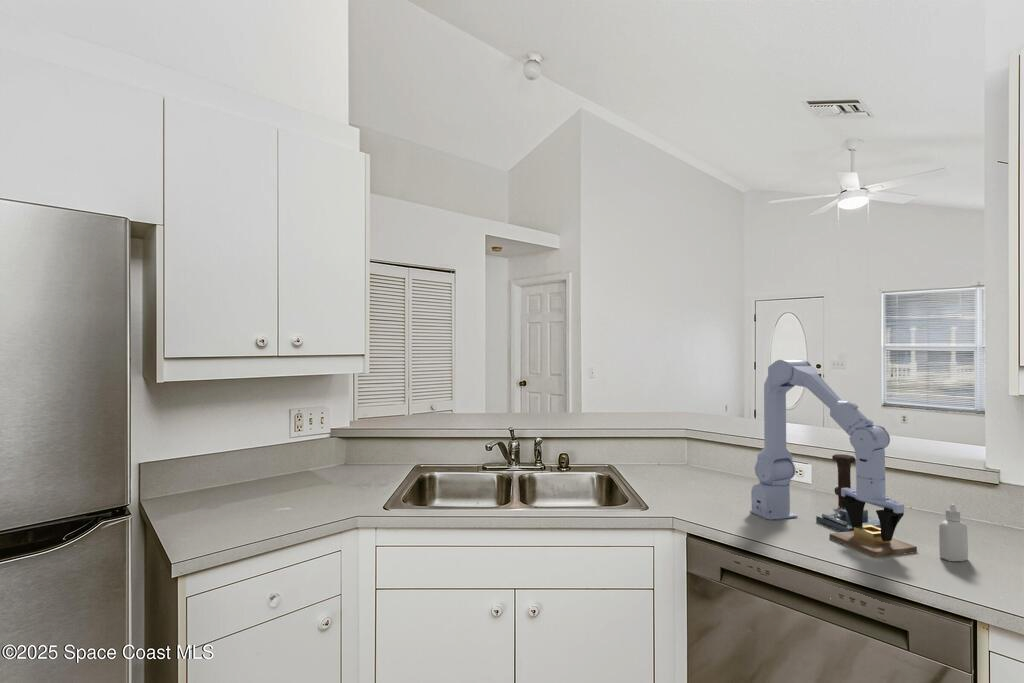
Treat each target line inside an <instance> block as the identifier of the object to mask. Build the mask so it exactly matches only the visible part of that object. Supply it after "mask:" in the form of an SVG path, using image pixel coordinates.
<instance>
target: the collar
mask: <svg viewBox="0 0 1024 683" xmlns="http://www.w3.org/2000/svg"><path fill="white" fill-rule="evenodd" d="M854 537H855V538H857V539H860V540H862V541H865V542H867V543H870V544H872V545H876V544H884V543H890V541H882V538H881V528H878V527H875V526H872V525H865V526H857V527H854Z"/></svg>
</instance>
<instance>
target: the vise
mask: <svg viewBox="0 0 1024 683" xmlns="http://www.w3.org/2000/svg"><path fill="white" fill-rule="evenodd" d="M815 519H816V520H815V521H816V523H819V524H822V525H824V526H827V527H829V528H831V527H832V528H831V529H834V528H835V529H834V530H836V531H839V530H840V531H839V532H848V531H854V530H853V528H852V525H851V522H850V519H849V516H848V513H847V511H846V509H845V508H844V509H839V513H832V514H826V513H822V514H821V515H816V517H815ZM865 525H872V526H875V527H878V528H881V527H880V521H879V518H878V517H875V516H872V515H869V512H868V509H866V508H864V510H863V522H862V526H865Z"/></svg>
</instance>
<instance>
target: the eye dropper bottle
mask: <svg viewBox="0 0 1024 683" xmlns="http://www.w3.org/2000/svg"><path fill="white" fill-rule="evenodd" d="M938 529H939V530H938V532H939V533H938V534H939V537H938V539H939V544H938V546H939V558H940V559H943V560H944V561H947V560H948V562H951V561H961V562H965V561H967V560H968V559H969V541H968V539H969V538H968V526H967V524H966V523H965V522H962V521H961V511H960V510H958V509H957V508H956V504H954V503H950V506H949V508H946V509H945V519H944V520H943V521H941V522H940V523H939V526H938Z"/></svg>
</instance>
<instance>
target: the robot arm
mask: <svg viewBox="0 0 1024 683" xmlns="http://www.w3.org/2000/svg"><path fill="white" fill-rule="evenodd" d="M795 386H797V387H802V388H806V389H808V390H809V391H810V392H811V393H812V394H813V395H814V396H815V397H816V398H817V399H818V400H819V401H820V402H821V403H822V404H824V405H825V407H827V408H828V409H829V416H830V417H831V418H832V419H833V421H834V422H835V423H836V424H837V425H839V428H841V429H842V430H843V431H844V433H846V434H847V436H849V438H848V439H849V444H851V446H852V447H853V450H854V455H855V459H856V463H855V484H856V485H855V489H854V488H851V487H850V488H851V489H850V488H841V496H843V497H845V499H841V503H842V504H843V506H844V507H845V508H844V510H845V509H846V511H847V513H848V516H849V519H850V522H851V525H852V528H853V530H854V527H857V526H862V522H863V510H864V509H865V506H866V504H870V505H872V506H876V507H878V508H882V509H878V510H877V509H876V510H875V512H876V515H877V518H879V521H880V527H881V538H882V541H892V538H894V533H895V531H896V528H897V526H898V524H899V522H900V521H901V519H902V518H903V517H904V514H905V504H904V503H900V502H898V501H896V500H894V499H891V498H889V497H888V495H887V492H886V448H887V447H889V444H890V442H891V436H890V434H889V432H888V431H887V430H886V428H885V427H884V426H882V425H879V424H875V423H874V421H873V420H871V419H869V418H867V416H865V414H863V412H862V411H860V410H859V406H858V404H856V403H852V402H851V401H847V400H846V401H845V400H842V399H841V398H840V397H839V395H837V394H836V392H835V391H834V390H833V388H831V387H830V386H829V385H828V383H827V382H826V381H825V380H824V379H823V378H822V377H821V375H820V374H819V373H818V370H817V368H816V367H815V366H813V365H811V363H810V362H809V361H808V360H806V359H803V358H802V359H801V358H800V359H777V360H775V361H774V362H773V363H771V364H770V365H769V366H768V367H767V377H766V379H765V381H764V386H763V408H764V410H763V411H764V412H763V418H764V419H763V421H764V422H763V426H764V429H763V430H764V431H763V432H764V434H763V435H764V439H763V441H764V444H763V445H764V447H763V448H762V449H761V451H760V452H759V453H757V458H756V459H757V460H756V462H755V464H754V474H755V476H756V478H757V479H758V480H759V481H758V483H756V484H753V486H752V488H751V492H750V493H751V497H750V498H751V499H750V500H751V509H749V512H750V513H753V514H755V515H756V516H757V515H758V516H760V517H762V518H764V519H766V520H771V521H772V520H780V519H781V520H782V519H791V518H792V519H793V518H798V514H796V513H793V512H791V498H790V497H791V494H790V493H791V491H790V489H791V486H790V483H792V481H791V480H792V479H793V478H794V476H795V474H796V466H795V464H794V460H793V454H792V453H791V451H789V450H788V448H787V397H786V396H787V392H789V391H790V390H792V388H794V387H795Z"/></svg>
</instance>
